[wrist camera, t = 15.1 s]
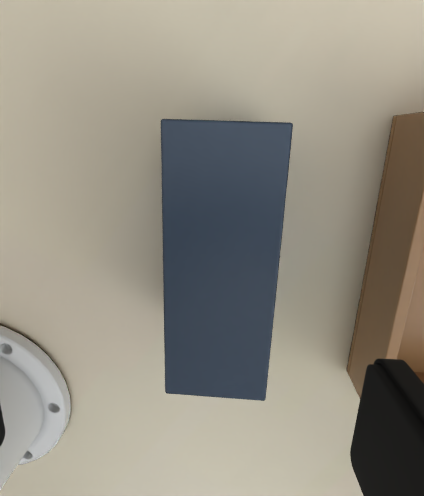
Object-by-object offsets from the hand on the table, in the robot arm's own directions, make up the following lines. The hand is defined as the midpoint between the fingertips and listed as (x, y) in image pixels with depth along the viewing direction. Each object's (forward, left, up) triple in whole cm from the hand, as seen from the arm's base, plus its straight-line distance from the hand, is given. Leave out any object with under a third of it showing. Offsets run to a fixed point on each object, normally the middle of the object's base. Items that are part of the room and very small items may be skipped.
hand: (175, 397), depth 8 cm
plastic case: (+1, +1, -13) cm, 13 cm away
